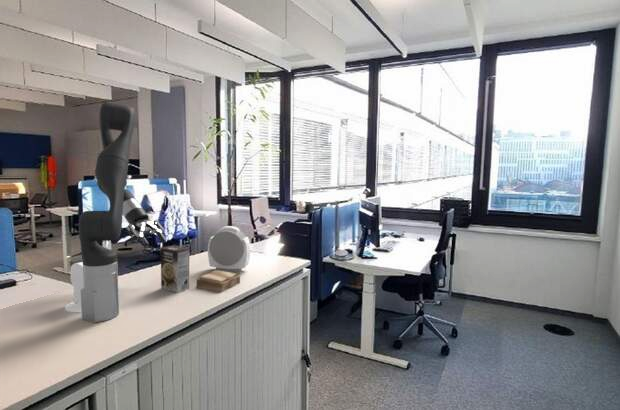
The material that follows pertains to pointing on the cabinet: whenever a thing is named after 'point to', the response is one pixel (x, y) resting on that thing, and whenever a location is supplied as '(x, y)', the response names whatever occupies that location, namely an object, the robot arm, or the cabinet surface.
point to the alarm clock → (229, 250)
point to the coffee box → (175, 268)
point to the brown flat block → (218, 280)
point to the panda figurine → (76, 285)
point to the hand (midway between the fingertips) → (155, 243)
